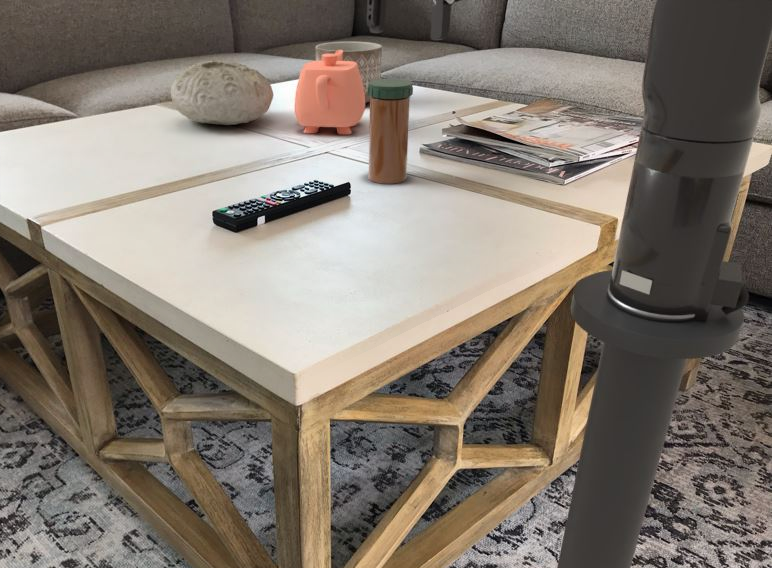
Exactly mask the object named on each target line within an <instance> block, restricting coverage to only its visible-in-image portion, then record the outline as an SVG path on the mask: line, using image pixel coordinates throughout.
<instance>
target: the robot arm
mask: <svg viewBox="0 0 772 568" xmlns="http://www.w3.org/2000/svg"><path fill="white" fill-rule="evenodd" d="M432 1H433V4H434V6H432V9H431V20H430V21H431V24H430V35H429V36H430V40H432V41H443V40H445V39H446V37H447V35H448V34H449V32H450V28H451V27H450V26H451V25H450V24H451V12H452V11H451V10H452V6H453V4H454V3H457V2H460V1H462V0H432ZM366 4H367V5H366V25H367V27H368V28H369V32H370V33H373V34H379V33H384V31H385V29H386V16H387V0H367V2H366ZM653 7H654V8H653V11H652V12H653V13H652V17H651V23H650V30H649V37H648V41H647V49H646V56H645V61H644V66H643V67H644V68H643V74H642V83H641V95H642V96H641V97H642V102H643V115H642V119H641V120H642V122H641V127H640V131H639V135H638V141H637V147H636V152H635V157H634V162H633V166H632V172H631V177H630V182H629V186H628V191H627V196H626V201H625V206H624V211H623V216H622V220H621V226H620V230H619V235H618V241H617V245H616V252H615V255H614V260H613V266H612V269H611V270H612V274H611V278H610V284H609V286H608V290H607V298H608V300H609V301H610V303H612V304H613V305H614V306H615V307H617V308H618V309H620V310H621V311H623V312H626V313H628V314H630V315H633V316H636V317H639V318H643V319H647V320H652V321H658V322H668V323H680V322H689V321H698V322H706V321H707V317H708V314H709V310H710V306H711V304H712V305H718V306H724V307H722V308H721V309H722V311H723V312H724V313H725V314H726V315H727V314H729V313H731V312H734V311H736V310H738V309H740V308H741V309H743V307H745V306H746V305H747V303H748V301H749V298H750V295H749V291H748V290H747V289H746V286H745V285H744V284H743V276H742V268H741V262H740V263H739V262H732V261H725V260H724V259H725V256H726V253H727V248H728V246H729V241H730V239H731V235H732V230H733V229H732V218H733V215H734V211H735V207H736V204H737V201H738V197H739V192H740V189H741V186H742V182H743V178H744V175H745V171H746V167H747V163H748V160H749V156H750V154H751V153H750V152H751V149H752V145H753V142H754V138H755V134H756V131H757V127H758V124H759V121H760V117H761V112H762V104H761V101H760V85H761V79H762V75H763V70H764V66H765V62H766V59H767V54H768V50H769V47H770V41H771V39H772V0H655V3H654V6H653Z"/></svg>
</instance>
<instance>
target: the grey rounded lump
mask: <svg viewBox="0 0 772 568" xmlns="http://www.w3.org/2000/svg"><path fill="white" fill-rule="evenodd" d="M169 91H170V98H171V99H170V100H171V102H172V104H173V106H174V108H175V109H176V110H177V111H178V113H180V114H181V115H182V116H184V117H186V118H187V119H188V120H191V121H192V122H198V123H203V124H208V125H221V126H232V125H234V126H235V125H239V124H245V123H246V124H247V123H250V122H253V121H256V120H258V119H259V118H261V117H262V116H263V115H264V114H265V113H267V112H268V110H270V107H271V104H272V102H273V99H274V91H273V88H272V85H271V82H270V79H269V78H266V77H265V76H264V75H263V74H262V73H260V71H258V69H254V68H251V67H248V66H246V64H241V63H239V62H235V61H231V60H229V61H217V60H213V59H211V60H210V61H208V60H206V61H205V60H204V61H201V62H197V63H196V64H193V65H190V66H188V67H186V68H185V69H184V70H183V71H181V72H180V73H179V74H176V75H175V79H174V82H173V83H172V85H171V87H170V90H169Z"/></svg>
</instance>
